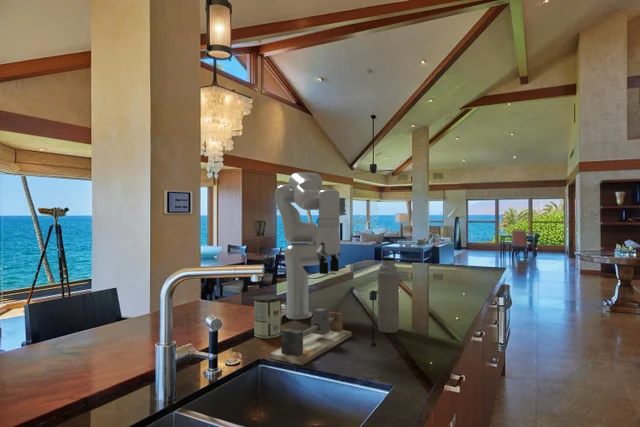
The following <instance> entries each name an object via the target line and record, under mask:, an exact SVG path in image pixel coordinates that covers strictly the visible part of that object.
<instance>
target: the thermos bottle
mask: <svg viewBox="0 0 640 427" xmlns="http://www.w3.org/2000/svg"><path fill="white" fill-rule="evenodd" d="M399 277H400V274H399V272H398V267H397V266H396V265H395V258H394V257H387V256H386V257H385V256H384V257H381V265H379V271H378V272H377V330H378V331H379V332H381V333H390V334H391V333H397V332H399V331H398V330H400V329H399V328H400V327H399V326H400V325H399V324H400V323H399V321H400V320H399V319H400V318H399V317H400V316H399V314H400V313H399V311H400V310H399V307H400V305H399V304H400V303H399V302H400V300H399V299H400V298H399V297H400V296H399V293H400V292H399V289H400V287H399V284H400V282H399Z"/></svg>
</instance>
